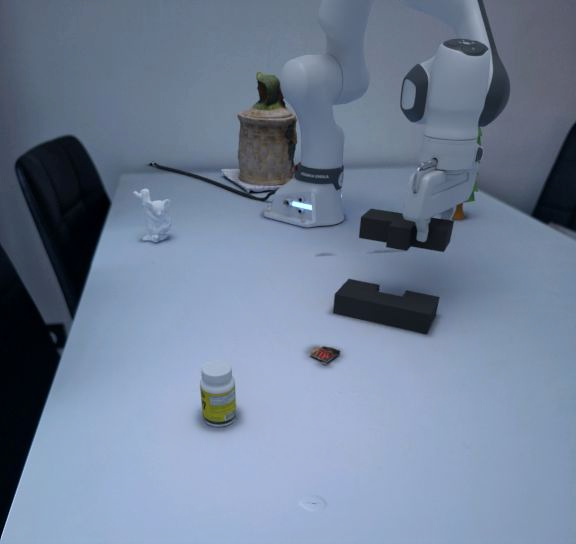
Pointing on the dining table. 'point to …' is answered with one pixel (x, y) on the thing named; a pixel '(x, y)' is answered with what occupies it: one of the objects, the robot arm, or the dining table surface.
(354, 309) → the charcoal pad
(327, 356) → the matchbox
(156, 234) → the koala figurine
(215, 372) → the supplement bottle
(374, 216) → the black pad
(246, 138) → the cookie jar
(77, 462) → the dining table surface
